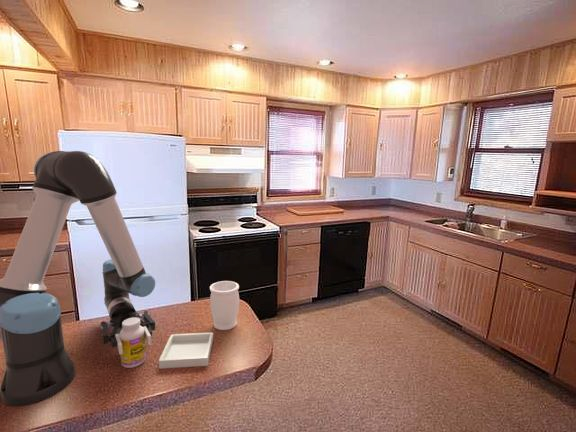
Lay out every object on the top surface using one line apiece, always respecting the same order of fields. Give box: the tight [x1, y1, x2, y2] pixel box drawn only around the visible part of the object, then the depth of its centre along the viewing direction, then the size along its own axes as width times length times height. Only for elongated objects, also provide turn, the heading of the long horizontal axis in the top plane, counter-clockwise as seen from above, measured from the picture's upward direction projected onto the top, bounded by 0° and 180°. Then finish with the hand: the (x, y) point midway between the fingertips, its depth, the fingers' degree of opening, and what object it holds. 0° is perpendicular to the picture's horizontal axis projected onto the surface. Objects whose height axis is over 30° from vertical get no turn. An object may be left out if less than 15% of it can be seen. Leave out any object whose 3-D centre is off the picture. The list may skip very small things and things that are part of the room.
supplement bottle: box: [119, 317, 147, 369], centre depth 88 cm, size 7×7×13 cm
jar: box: [209, 280, 240, 331], centre depth 109 cm, size 11×10×15 cm
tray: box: [158, 331, 214, 370], centre depth 94 cm, size 14×14×2 cm
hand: (135, 344), depth 84 cm, fingers closed on supplement bottle, 7 cm apart
